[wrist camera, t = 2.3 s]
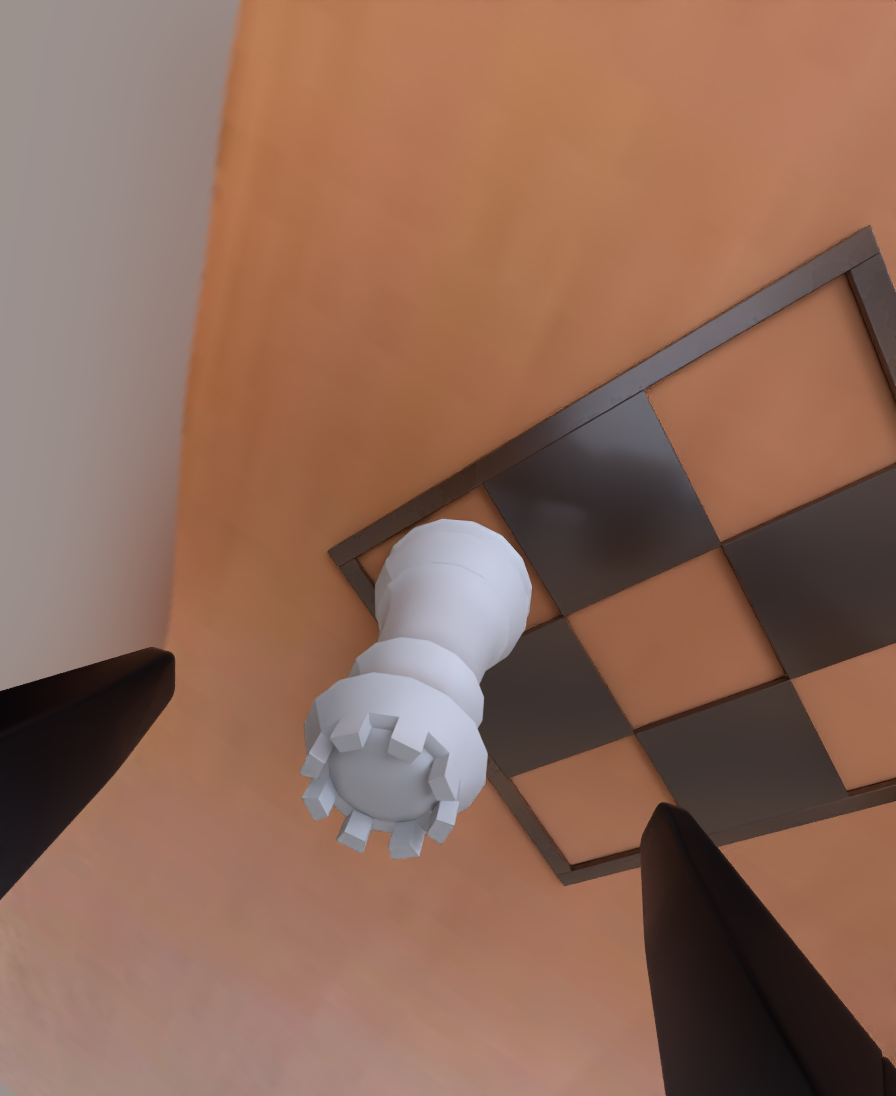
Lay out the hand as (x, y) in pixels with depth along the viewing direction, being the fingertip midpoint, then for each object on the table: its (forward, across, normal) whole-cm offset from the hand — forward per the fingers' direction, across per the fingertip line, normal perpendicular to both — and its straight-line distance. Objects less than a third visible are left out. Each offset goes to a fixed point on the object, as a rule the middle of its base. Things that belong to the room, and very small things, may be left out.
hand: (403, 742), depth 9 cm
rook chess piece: (+7, 0, 0) cm, 7 cm away
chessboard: (+7, -6, 0) cm, 9 cm away
